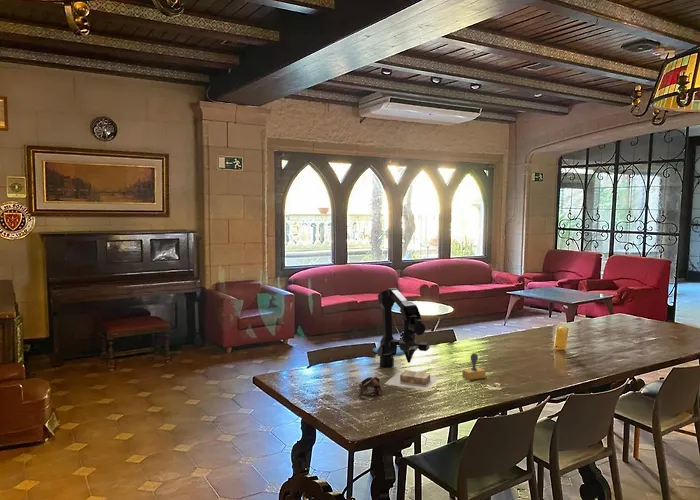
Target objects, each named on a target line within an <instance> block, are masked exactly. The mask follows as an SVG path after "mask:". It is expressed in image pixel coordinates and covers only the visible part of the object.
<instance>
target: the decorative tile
mask: <svg viewBox="0 0 700 500" xmlns="http://www.w3.org/2000/svg"><path fill="white" fill-rule="evenodd" d="M379 347H380V346H379ZM379 347H373V348H372V352H373V353H375V354H377V350H378V348H379ZM401 354H404V355H405V353H404V352H403V351H402V350H400V346H397V351H396V355H397V356H402V355H401ZM394 356H395V355H393V357H394Z"/></svg>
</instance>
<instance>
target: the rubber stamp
mask: <svg viewBox="0 0 700 500" xmlns="http://www.w3.org/2000/svg"><path fill="white" fill-rule="evenodd" d="M478 359H479V356H478V354H477V353H475V352H473V353H471V355H470V361H471V363H472V367H471V368H465V369H462V375H461V376H462V378H464V379H466V380H468V381H471V380H478V379H486V376H487V375H486V373H487V370H485V369H484V368H481V367H479V366H478V367H476V365H477V362H478Z"/></svg>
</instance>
